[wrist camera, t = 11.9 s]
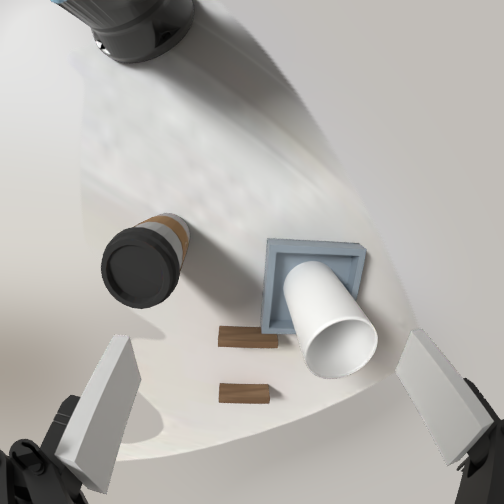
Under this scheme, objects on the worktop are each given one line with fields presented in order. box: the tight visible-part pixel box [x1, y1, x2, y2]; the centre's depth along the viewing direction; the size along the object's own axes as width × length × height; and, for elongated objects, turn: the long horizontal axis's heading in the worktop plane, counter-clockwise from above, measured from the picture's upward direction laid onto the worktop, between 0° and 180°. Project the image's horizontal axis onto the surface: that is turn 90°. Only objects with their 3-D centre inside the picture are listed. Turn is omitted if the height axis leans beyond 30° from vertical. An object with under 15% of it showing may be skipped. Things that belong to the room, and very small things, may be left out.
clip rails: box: [218, 326, 278, 404], centre depth 45 cm, size 14×9×4 cm, turn 177°
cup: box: [283, 261, 378, 379], centre depth 35 cm, size 8×8×16 cm
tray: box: [260, 238, 367, 334], centre depth 42 cm, size 14×14×3 cm
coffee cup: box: [101, 213, 190, 309], centre depth 33 cm, size 8×8×15 cm
